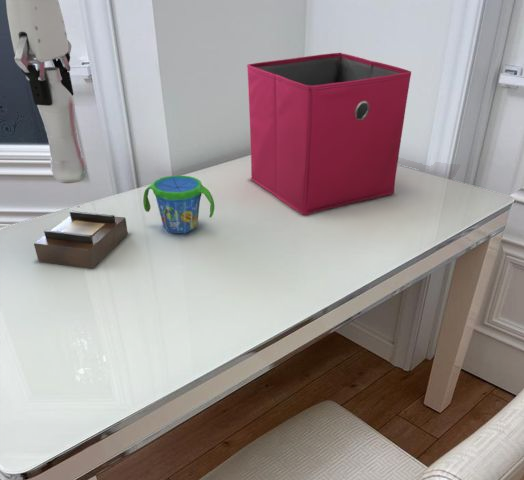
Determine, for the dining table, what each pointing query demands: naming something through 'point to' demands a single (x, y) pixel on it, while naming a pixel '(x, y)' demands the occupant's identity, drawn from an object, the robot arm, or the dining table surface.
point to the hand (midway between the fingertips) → (54, 99)
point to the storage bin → (326, 129)
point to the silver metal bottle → (62, 131)
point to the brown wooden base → (81, 239)
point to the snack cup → (178, 202)
